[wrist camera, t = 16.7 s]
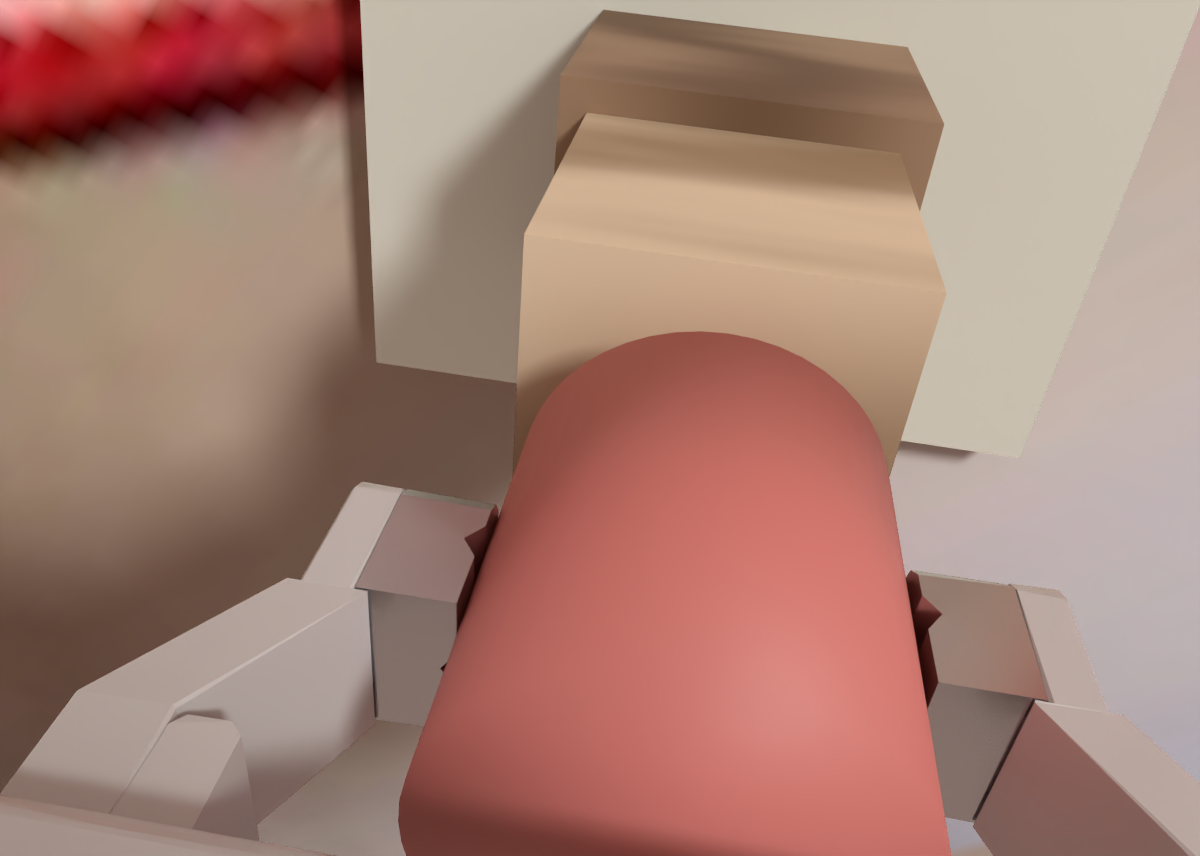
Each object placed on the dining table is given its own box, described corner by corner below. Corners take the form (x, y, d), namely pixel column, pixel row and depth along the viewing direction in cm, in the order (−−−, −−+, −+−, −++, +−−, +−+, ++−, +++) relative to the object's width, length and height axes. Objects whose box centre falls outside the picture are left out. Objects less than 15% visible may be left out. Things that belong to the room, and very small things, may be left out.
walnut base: (580, 282, 23) (539, 395, 19) (603, 9, 20) (560, 74, 16) (839, 319, 23) (855, 441, 19) (907, 46, 20) (944, 124, 15)
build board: (390, 339, 26) (375, 362, 25) (372, -197, 20) (351, -195, 19) (1010, 430, 25) (1020, 458, 24) (1215, -104, 19) (1240, -96, 18)
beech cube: (586, 113, 16) (523, 234, 12) (900, 152, 16) (946, 292, 12) (565, 378, 19) (509, 550, 15) (831, 417, 19) (849, 604, 14)
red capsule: (515, 595, 14) (405, 961, 9) (530, 305, 11) (389, 629, 7) (842, 648, 13) (875, 1049, 9) (932, 361, 11) (1033, 736, 7)
